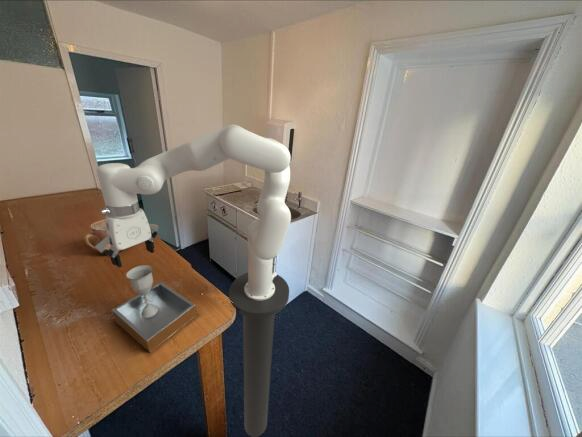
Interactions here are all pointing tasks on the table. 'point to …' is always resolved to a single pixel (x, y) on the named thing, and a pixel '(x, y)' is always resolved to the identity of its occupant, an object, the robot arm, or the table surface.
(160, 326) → the grey rectangular tray
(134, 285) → the chalice
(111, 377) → the table surface
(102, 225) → the ceramic jug
